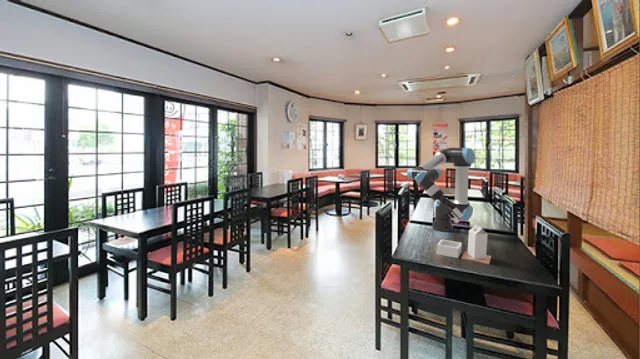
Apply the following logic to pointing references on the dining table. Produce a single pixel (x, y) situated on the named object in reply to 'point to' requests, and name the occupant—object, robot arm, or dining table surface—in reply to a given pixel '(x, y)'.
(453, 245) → the white open box
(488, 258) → the terracotta tile
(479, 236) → the milk carton
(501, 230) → the dining table surface
